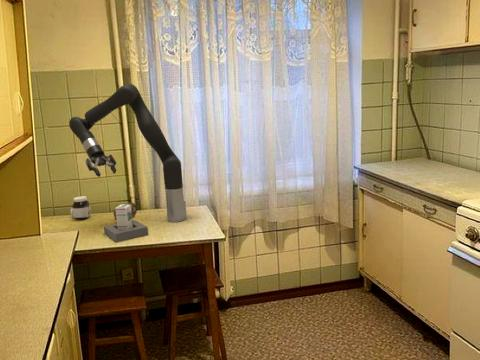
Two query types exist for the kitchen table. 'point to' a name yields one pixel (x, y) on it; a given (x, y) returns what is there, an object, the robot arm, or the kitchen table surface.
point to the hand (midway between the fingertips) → (107, 174)
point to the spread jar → (80, 208)
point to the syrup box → (124, 217)
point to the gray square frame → (125, 232)
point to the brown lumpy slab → (133, 209)
